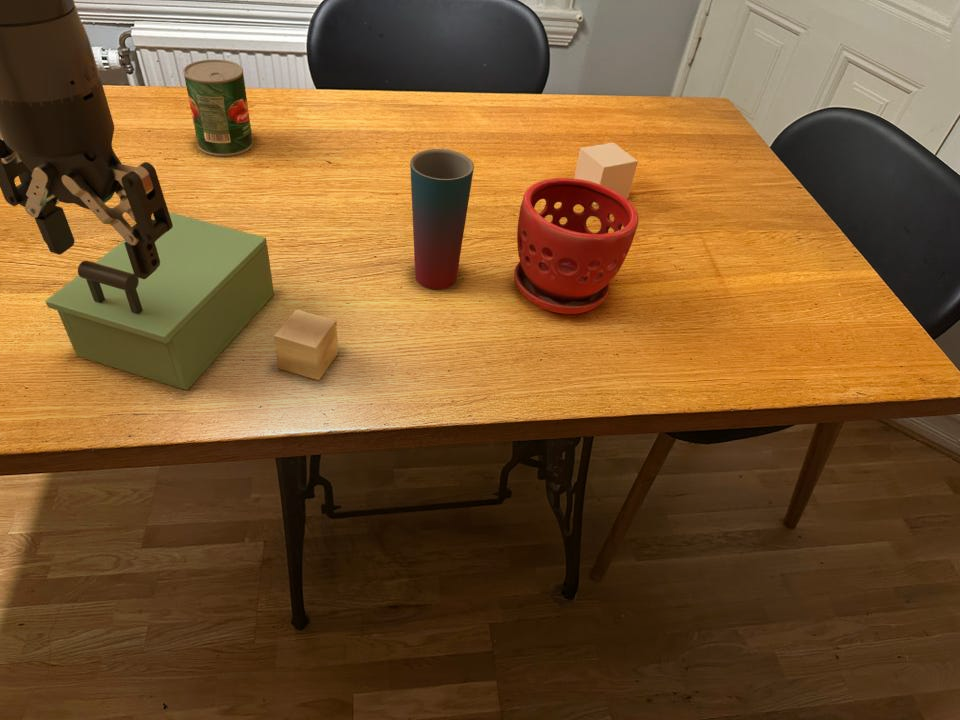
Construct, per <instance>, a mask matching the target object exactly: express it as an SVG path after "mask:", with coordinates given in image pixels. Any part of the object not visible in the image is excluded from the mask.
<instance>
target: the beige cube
mask: <svg viewBox="0 0 960 720" xmlns="http://www.w3.org/2000/svg"><path fill="white" fill-rule="evenodd" d="M578 151H579V152H578V156H577V162H576V165H575V172H574V176H573V179H581V180H586V181H590V182H594V183H597V184H600V185H603V186H605V187H608V188H610V189H612V190H614V191H616V192H618V193H619V194H621V195H622V196H624V197H625V198H626V199H627V200H628V199H629V197H630V193H631V189H632V185H633V181H634V177H635V174H636V170H637V167H638V163H639V161H638V160H637V159H636V158H635V157H633V156H632V155H631V154H629V153H628V152H627V151H626V150H625V149H623V148H621V147H620V146H619V145H618V144H617V143H616V142H608V143H601V144H596V145H590V146H584V147H580V148H579V150H578ZM592 205H594V206H599V205H598V204H597V203H595V202H593V203H592Z"/></svg>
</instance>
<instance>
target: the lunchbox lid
mask: <svg viewBox="0 0 960 720" xmlns="http://www.w3.org/2000/svg"><path fill="white" fill-rule="evenodd" d="M168 212H169V215H170V218H171V221H172V224H173V227H172V229H170V230H169V231H168V232H166V233H165V234H163V235H162V236H161V237H160V238H159V239H157V241H156V242H155V245H156V248H157V253H158V255H159V259H160V266H159V267H158V268H157V269H156V271H154V272H153V273H152V274H151V275H150V276H149V277H147V278H146V279H141V278H138V277H135V275H134V272H133V269H132V266H131V263H130V259H129V256H128V253H127V250H126V247H125V244H124V243H125V242H126V241H125V239H123V241H121V242H119V244H117V245H116V246H115V247H114V248H112V249H110V250H109V251H108V252H107V253H105V254H104V255H103V256H102V257H100V258H99V259H98V260H96V261H95V262H94V261H93V262H92V261H89V260H83V261H81V262H80V263H79V265H78V266H77V276H76V277H74V278H73V279H72V280H70V281H69V282H68V283H66V284H65V285H63V286H62V287H61V288H60V289H59V290H57V291H55V293H53V294H52V295H51V296H49V297H48V298H47V299H46V300H45V304H46V307H47V308H48V309H52V310H55V311H57V310H58V311H61V312H65V313H68V314H71V315H75V316H78V317H81V318H85V319H88V320H91V321H95V322H98V323H101V324H105V325H108V326H111V327H115V328H118V329H121V330H124V331H128V332H131V333H134V334H138V335H141V336H144V337H148V338H151V339H154V340H158V341H161V342H164V343H167V342H168V341H169V340H170V339H171V338H172V337H173V336H174V335H175V334H176V333H177V332H178V331H179V330H180V329H181V328H182V327H183V326H184V325H185V324H186V323H187V322H188V321H189V320H190V319H191V318H193V317H194V316H195V315H196V314H197V313H198V312H199V311H200V310H201V309H202V308H203V307H204V306H205V305H206V304H207V303H208V302H209V301H210V300H211V299H212V298H213V297H214V296H215V295H216V294H217V293H218V292H219V291H220V290H221V289H222V288H223V287H224V286H225V285H226V284H227V283H228V282H229V281H230V280H231V279H232V278H233V277H234V276H235V275H236V274H237V273H238V272H239V271H240V270H241V269H242V268H243V267H244V266H245V265H246V264H247V263H248V262H249V261H250V260H251V259H252V258H253V257H254V256H255V255H256V254H257V253H258V252H259V251H260V250H261V249H262V248H263V247H264V246H265V245H266V244H267V245H268V242H267V237H265V236H260V235H256V234H254V233H250V232H246V231H242V230H238V229H234V228H231V227H227V226H223V225H220V224H215V223H212V222H208V221H205V220H202V219H197V218H193V217H189V216H185V215H182V214H178V213H175V212H171V211H168ZM151 219H152V220H154V219H155V218H154V217H152V218H151ZM58 311H57V312H58Z"/></svg>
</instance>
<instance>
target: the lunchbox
mask: <svg viewBox="0 0 960 720" xmlns="http://www.w3.org/2000/svg"><path fill="white" fill-rule="evenodd" d="M271 269H272V268H271V262H270V255H269V248H268V243H267V244H266V245H265V246H264V247H263V248H262V249H261V250H260V251H259V252H258V253H257V254H256V255H255V256H254V257H253V258H252V259H251V260H250V261H249V262H248V263H247V264H246V265H245V266H244V267H243V268H242V269H241V270H240V271H239V272H238V273H237V274H236V275H235V276H234V277H233V278H232V279H231V280H230V281H229V282H228V283H227V284H226V285H225V286H224V287H223V288H222V289H221V290H220V291H219V292H218V293H217V294H216V295H215V296H214V297H213V298H212V299H211V300H210V301H209V302H208V303H207V304H206V305H205V306H204V307H203V308H202V309H201V310H200V311H199V312H198V313H197V314H196V315H195V316H194V317H193V318H191V319H190V320H189V321H188V322H187V323H186V324H185V325H184V326H183V327H182V328H181V329H180V330H179V331H178V332H177V333H176V334H175V335H174V336H173V337H172V338H171V339H170V340H169V341H168V342H167V343H164V342H161V341H158V340H154V339H151V338H148V337H144V336H141V335H138V334H134V333H131V332H128V331H124V330H121V329H118V328H115V327H111V326H108V325H105V324H101V323H98V322H95V321H91V320H88V319H85V318H81V317H78V316H75V315H71V314H68V313H65V312H61V311H58V310H56V311H57V313H58V315H59V318H60V320H61V323H62V325H63V327H64V330H65V332H66V334H67V337H68V340H69V343H70V344H71V347H72V349H73V351H74V353H75V354H74V355H75V356H76V357H78V358H81V359H85V360H88V361H91V362H94V363H98V364H101V365H103V366H104V365H105V366H108V367H111V368H113V369H117V370H120V371H123V372H126V373H130V374H133V375H136V376H140V377H142V378H146V379H150V380H152V381H155V382H159V383H162V384H165V385H168V386H171V387H174V388H177V389H181V390H184V391H188V390H189V389H190V388H191V387H192V386H193V385H194V383H195V382H197V380H198V379H199V378H200V377H201V376H202V375H203V373H204V372H206V370H207V369H208V368H209V367H210V366H211V365H212V364H213V362H214V361H216V359H217V358H218V357H219V356H220V355H221V354H222V352H223V351H224V350H226V348H228V346H229V345H230V344H231V343H232V341H234V340H235V338H236V337H237V336H238V335H239V334H240V333H241V332H242V330H243V329H244V328H245V327H246V326H247V325H248V324H249V323H250V322H251V321H252V320H253V318H254V317H255V316H256V315H257V314H258V313H259V312H260V311H261V309H262V308H263V307H264V306H265V305H266V304H267V303H268V301H270V300H271V298H272V297H273V296H274V295H275V291H274V283H273V276H272V270H271Z"/></svg>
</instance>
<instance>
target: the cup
mask: <svg viewBox="0 0 960 720" xmlns="http://www.w3.org/2000/svg"><path fill="white" fill-rule="evenodd" d="M409 169H410V187H411V188H410V191H411V215H412V233H413V234H412V235H413V236H412V237H413V256H414V258H413V259H414V277H415V281H416V282H417V283H418V284H419V285H421V287H424V288H426V289H428V290H429V289H430V290H445V289H448V288H451V287H452V286H453V285H455V283H456V282H457V278H458V272H459V271H458V270H459V265H460V258H461V253H462V247H463V241H464V240H463V239H464V233H465V229H466V228H465V226H466V221H467V220H466V219H467V214H468V207H469V201H470V196H471V195H470V194H471V190H472V183H473V176H474V170H475V166H474V163H473V161H472V159H471V158H470V157H469V156H467V155H465V154H463V153H462V152H459V151H455V150H451V149H445V148H444V149H443V148H431V149H426V150H422V151H420V152H417V153H416V154H414V155H413V156H412V157H411V159H410V163H409Z"/></svg>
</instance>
